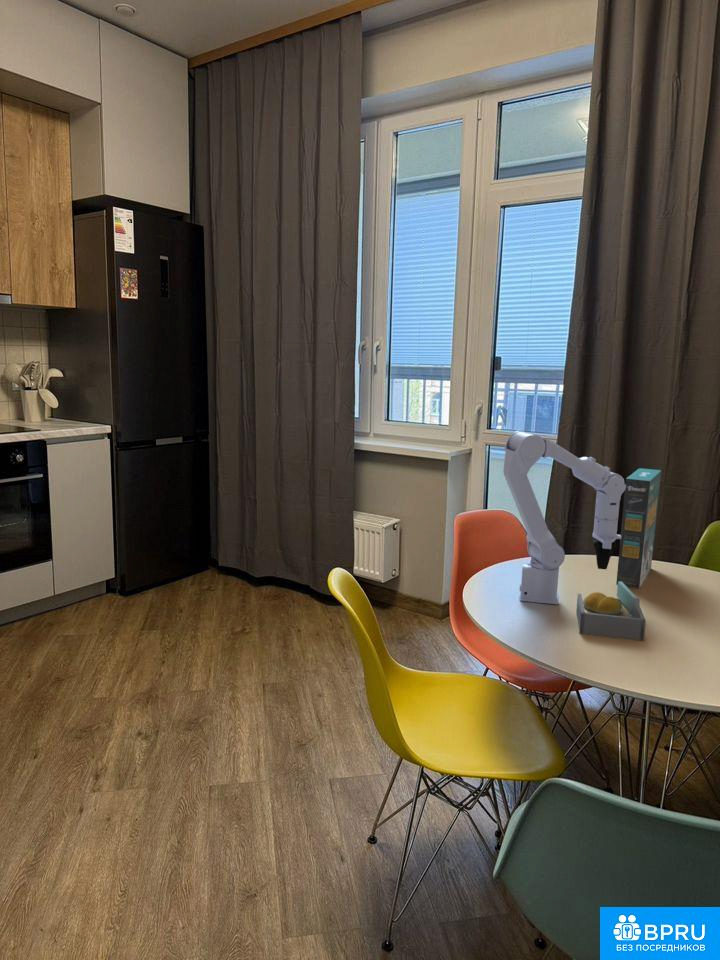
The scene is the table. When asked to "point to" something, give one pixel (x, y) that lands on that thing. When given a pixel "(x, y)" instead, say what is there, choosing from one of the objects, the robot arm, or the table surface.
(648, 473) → the cake mix box
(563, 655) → the table surface
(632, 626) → the grey open box
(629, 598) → the teal flat bar
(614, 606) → the bread roll
